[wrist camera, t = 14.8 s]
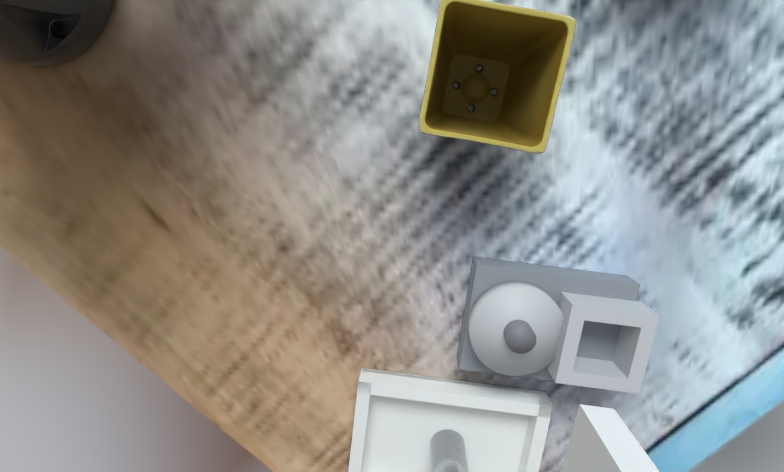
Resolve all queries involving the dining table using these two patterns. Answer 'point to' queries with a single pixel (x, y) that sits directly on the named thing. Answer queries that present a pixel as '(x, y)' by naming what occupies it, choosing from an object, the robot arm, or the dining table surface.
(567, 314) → the tensioner block
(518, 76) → the flower pot
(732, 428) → the dining table surface
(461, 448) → the pin
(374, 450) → the tray
